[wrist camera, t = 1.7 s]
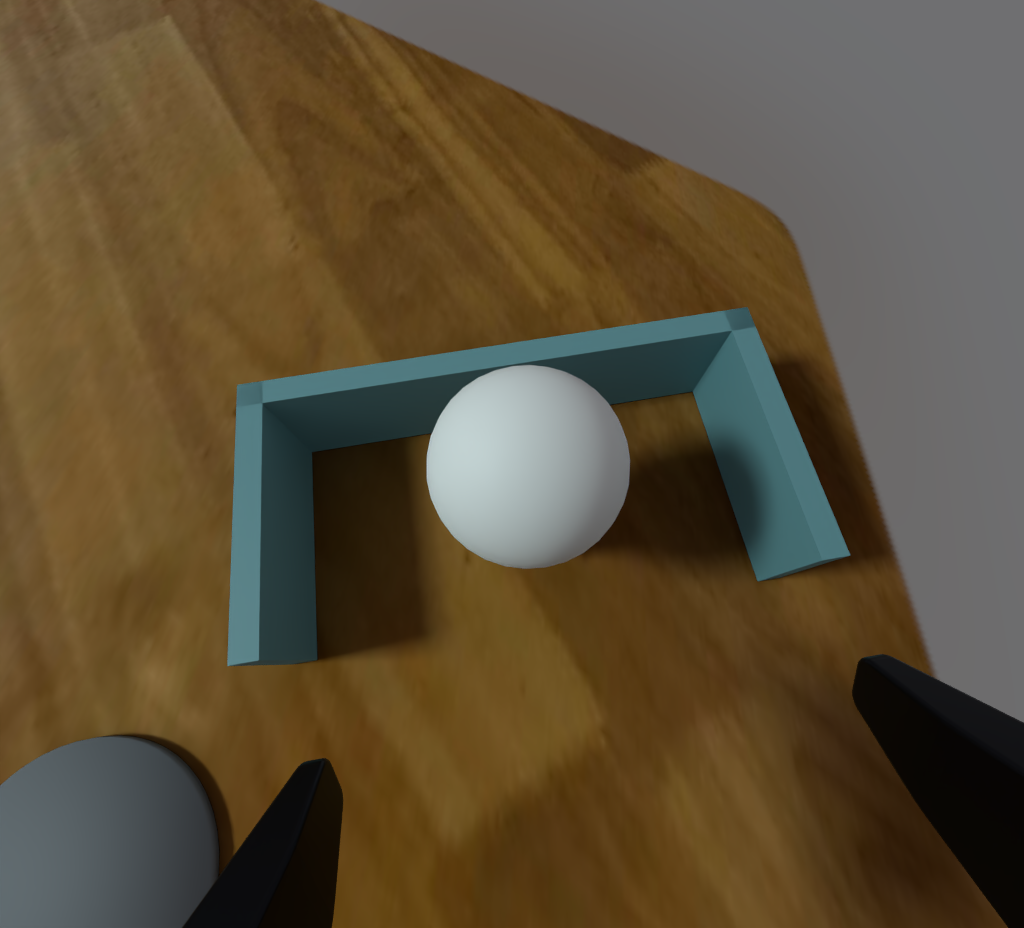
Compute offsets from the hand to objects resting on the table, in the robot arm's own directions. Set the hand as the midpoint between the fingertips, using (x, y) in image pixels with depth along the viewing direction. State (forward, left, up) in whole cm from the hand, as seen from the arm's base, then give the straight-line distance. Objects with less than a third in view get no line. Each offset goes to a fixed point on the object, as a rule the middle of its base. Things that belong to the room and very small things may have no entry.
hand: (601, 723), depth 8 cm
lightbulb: (+6, -3, -13) cm, 15 cm away
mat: (+5, +18, -13) cm, 23 cm away
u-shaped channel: (+7, -4, -13) cm, 15 cm away
